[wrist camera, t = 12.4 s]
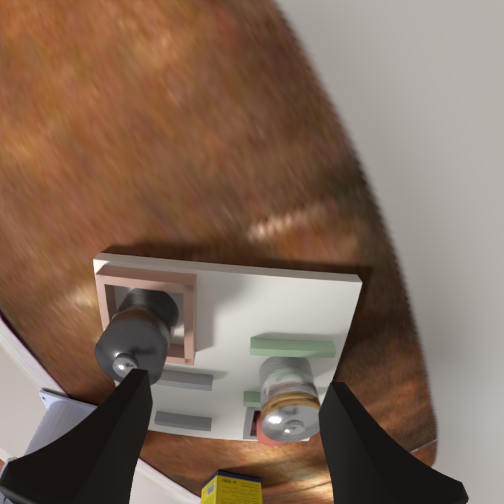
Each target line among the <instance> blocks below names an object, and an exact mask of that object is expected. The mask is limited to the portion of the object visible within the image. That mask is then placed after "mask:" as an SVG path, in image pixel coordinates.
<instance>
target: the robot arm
mask: <svg viewBox="0 0 504 504" xmlns="http://www.w3.org/2000/svg"><path fill="white" fill-rule="evenodd" d="M39 395H40V397H41V399H42V401H43V403H44V405H45V407H46V409H47V412H46V413H45V415H44V417H43V419H42V421H41V423H40V425H39V426H38V428H37V430H36V432H35V434H34V436H33V438H32V440H31V442H30V444H29V446H28V448H27V450H26V452H25V454H24V456H23V457H20V458H17V457H14V458H8V460H7V461H6V463H5V465H4V466H3V468H2V470H1V472H0V504H129V500H130V493H131V487H132V481H133V476H134V471H135V468H136V464H137V461H138V458H139V455H140V451H141V448H142V445H143V442H144V439H145V436H146V433H147V430H148V426H149V422H150V417H151V412H152V407H153V399H152V393H151V387H150V381H149V374H148V370H144V369H137V368H133V369H131V370H130V372H129V373H128V374H127V375H126V376H125V378H124V379H123V380H122V381H121V382H120V383H119V385H118V386H117V387H116V388H115V389H114V390H113V391H112V392H111V393H110V394H109V395H108V397H107V398H106V399H105V400H104V401H103V402H102V403H101V404H100V405H99V406H95V405H91V404H87V403H84V402H80V401H76V400H73V399H69V398H66V397H62V396H59V395H56V394H53V393H50V392H47V391H43V390H40V391H39ZM318 417H319V427H320V435H321V440H322V444H323V448H324V452H325V456H326V460H327V464H328V468H329V472H330V476H331V482H332V488H333V497H334V504H466V503H467V502H468V499H469V498H468V495H467V493H466V491H465V488H464V486H463V484H462V482H459V481H457V480H455V479H453V478H450V477H448V476H446V475H444V474H442V473H440V472H438V471H436V470H434V469H432V468H431V467H429V466H427V465H426V464H424V463H423V462H421V461H420V460H418V459H417V458H415V457H414V456H413V455H411V454H410V453H409V452H407V451H406V450H405V449H404V448H402V447H401V446H400V445H399V444H398V443H397V442H395V441H394V440H393V439H392V438H391V437H390V436H389V435H388V434H387V433H386V432H385V431H384V430H383V429H382V428H381V427H380V426H379V424H378V423H377V422H376V421H375V420H374V419H373V418H372V417H371V415H370V414H369V413H368V412H367V411H366V409H365V408H364V407H363V406H362V404H361V403H360V402H359V401H358V399H357V398H356V397H355V396H354V394H353V393H352V392H351V390H350V389H349V388H348V387H347V385H346V384H345V383H344V382H331V383H330V384H329V386H328V389H327V392H326V395H325V397H324V400H323V403H322V405H321V408H320V410H319V413H318Z"/></svg>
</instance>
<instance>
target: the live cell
mask: <svg viewBox="0 0 504 504" xmlns="http://www.w3.org/2000/svg"><path fill="white" fill-rule="evenodd" d="M259 381H260V400H261V425H262V431H263V433H264V435H265V436H267V437H268V438H270V439H272V440H274V441H278V442H296V441H301V440H304V439H307V438H309V437H311V436H313V435H315V434H316V433H317V432H318V431H319V430H320V427H319V417H318V413H319V410H320V408H321V405H320V402H319V398H318V394H317V389H316V385H315V381H314V377H313V373H312V369H311V365H310V362H309V361H308V360H307V359H306V358H305V357H277V356H271V357H269V358H268V359H267V360H265V361H264V362H263V364H262V365H261V367H260V369H259Z"/></svg>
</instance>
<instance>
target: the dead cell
mask: <svg viewBox="0 0 504 504" xmlns="http://www.w3.org/2000/svg"><path fill="white" fill-rule="evenodd" d="M178 319H179V311H178V308H177V305H176V303H175V302H174V300H173V299H172V298H171V297H170V296H169V295H168V294H167V293H166V292H164V291H158V290H149V289H141V288H134V289H132V290H131V291H130V292H129V293H128V294H127V296H126V297H125V299H124V300H123V302H122V303H121V305H120V307H119V308H118V310H117V311H116V313H115V314H114V316H113V318H112V319H111V321H110V323H109V324H108V326H107V327H106V329H105V331H104V332H103V334H102V336H101V337H100V339H99V341H98V342H97V344H96V347H95V356H96V359H97V362H98V364H99V365H100V367H101V368H102V369H103V371H104V372H105V373H106V374H107V375H109V376H110V377H111V378H112V379H114V380H116V381H117V382H119V383H120V382H121V381H122V380H123V379H124V378H125V376H126V375H127V374H128V373H129V372H130V370H131V369H133V368H137V369H144V370H148V374H149V381H150V386H151V385H153V384H155V383H156V382H157V381H158V380H159V379H160V377H161V374H162V371H163V367H164V364H165V361H166V358H167V354H168V351H169V348H170V345H171V341H172V338H173V335H174V332H175V329H176V326H177V322H178Z"/></svg>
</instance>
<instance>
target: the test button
mask: <svg viewBox="0 0 504 504" xmlns="http://www.w3.org/2000/svg"><path fill="white" fill-rule="evenodd" d="M256 425H257V439H258V441H259V442H260V443H262V444H264V445H268V446H279V445H284V444H286V443H288V442H278V441H274V440H272V439H270V438H268V437H267V436H265V435H264V433H263V431H262V425H261V411H260V410H258V411H257V413H256Z"/></svg>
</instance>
